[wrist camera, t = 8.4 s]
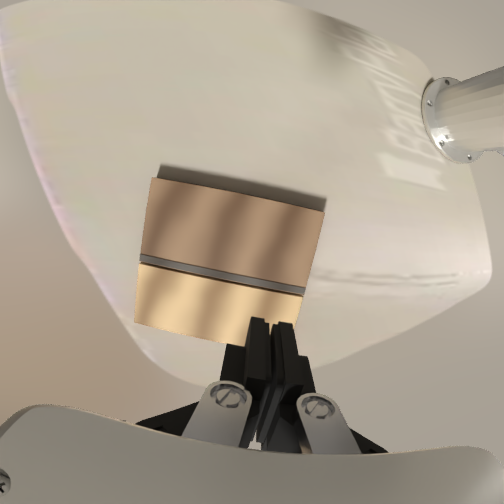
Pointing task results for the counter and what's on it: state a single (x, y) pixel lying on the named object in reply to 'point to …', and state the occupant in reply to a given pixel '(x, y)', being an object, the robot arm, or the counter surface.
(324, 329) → the counter surface
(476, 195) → the counter surface
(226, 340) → the oak plank
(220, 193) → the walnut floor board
